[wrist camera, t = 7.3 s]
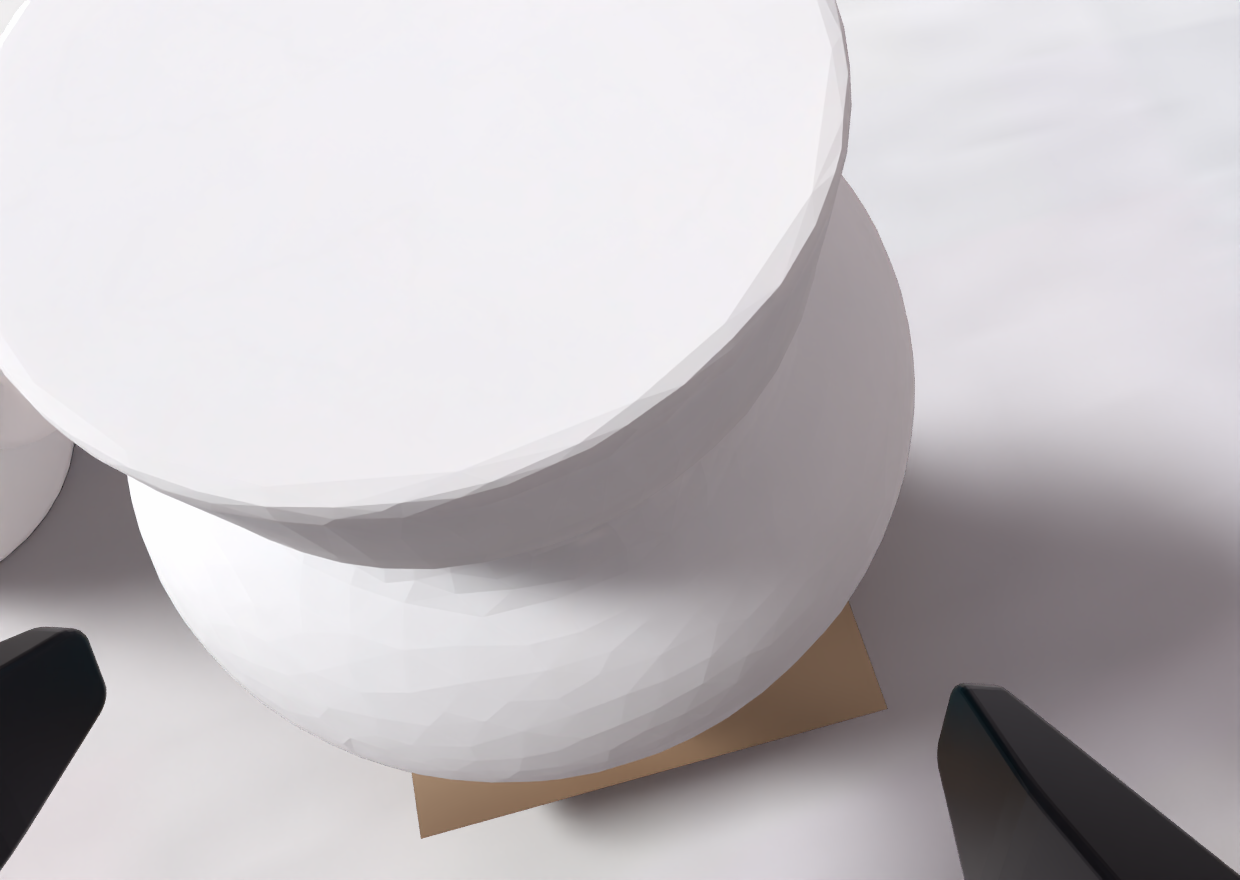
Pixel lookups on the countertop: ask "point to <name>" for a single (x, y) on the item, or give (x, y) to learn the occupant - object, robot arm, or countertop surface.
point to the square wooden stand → (796, 702)
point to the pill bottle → (465, 350)
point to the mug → (27, 466)
